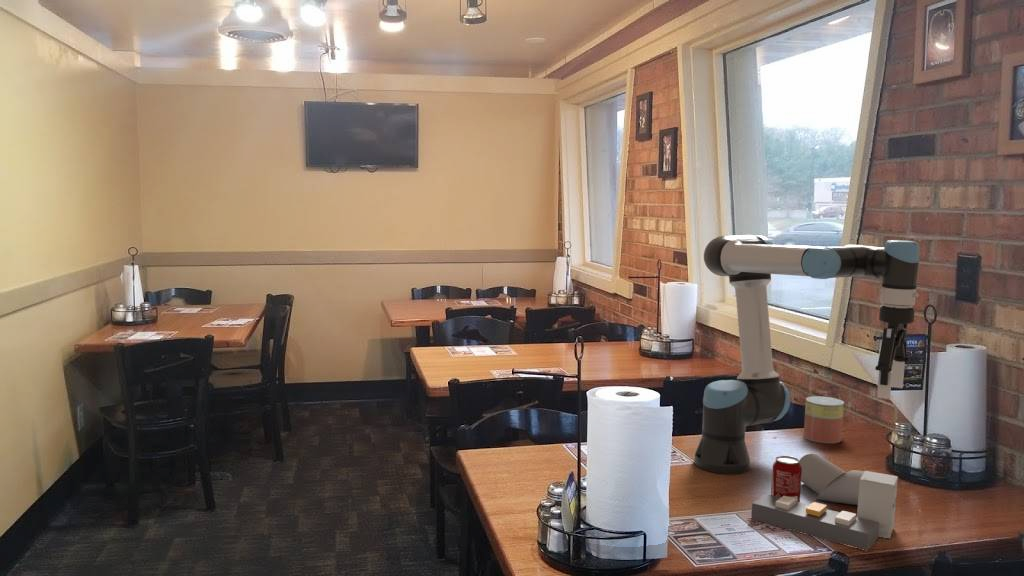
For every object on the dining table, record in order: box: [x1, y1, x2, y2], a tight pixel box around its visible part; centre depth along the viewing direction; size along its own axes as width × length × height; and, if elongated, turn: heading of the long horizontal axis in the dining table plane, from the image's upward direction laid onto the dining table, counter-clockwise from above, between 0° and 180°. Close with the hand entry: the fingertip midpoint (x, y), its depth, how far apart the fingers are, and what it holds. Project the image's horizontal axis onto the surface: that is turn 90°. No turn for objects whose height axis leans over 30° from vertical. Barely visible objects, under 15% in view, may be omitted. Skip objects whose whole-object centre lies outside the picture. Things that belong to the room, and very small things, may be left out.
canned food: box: [802, 395, 845, 444], centre depth 256 cm, size 11×11×12 cm
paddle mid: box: [806, 501, 828, 517], centre depth 185 cm, size 3×5×1 cm, turn 141°
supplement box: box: [856, 470, 899, 540], centre depth 185 cm, size 7×7×13 cm
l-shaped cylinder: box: [799, 453, 865, 506], centre depth 207 cm, size 18×10×20 cm
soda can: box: [770, 455, 802, 502], centre depth 199 cm, size 7×7×12 cm
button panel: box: [750, 493, 879, 551], centre depth 186 cm, size 26×8×5 cm, turn 50°
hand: (890, 392), depth 196 cm, fingers open, 13 cm apart
